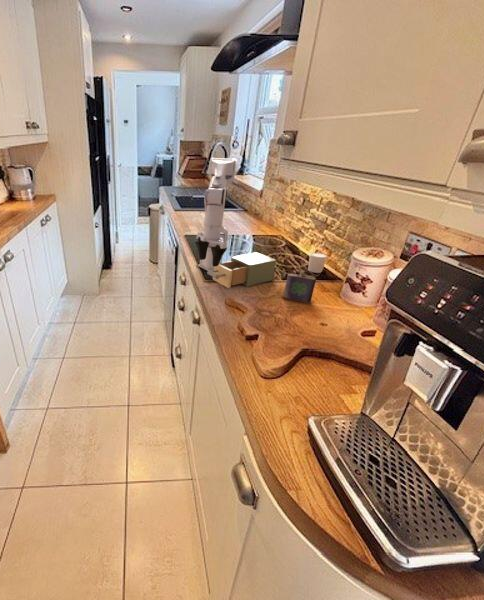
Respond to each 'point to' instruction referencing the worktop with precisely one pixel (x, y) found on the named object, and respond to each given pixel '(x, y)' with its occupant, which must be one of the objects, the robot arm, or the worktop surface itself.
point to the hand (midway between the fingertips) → (208, 262)
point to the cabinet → (257, 267)
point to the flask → (299, 287)
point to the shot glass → (317, 262)
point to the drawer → (229, 273)
